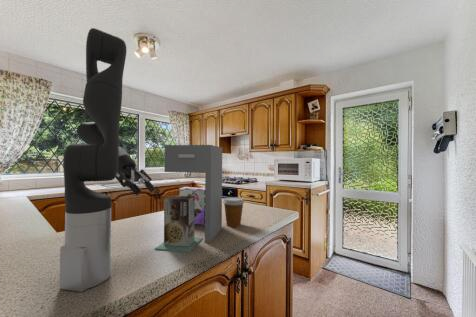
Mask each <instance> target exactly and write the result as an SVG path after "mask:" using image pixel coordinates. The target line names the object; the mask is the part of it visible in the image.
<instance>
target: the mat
mask: <svg viewBox="0 0 476 317" xmlns="http://www.w3.org/2000/svg"><path fill="white" fill-rule="evenodd" d="M202 240H203V237H195V236H194V241H193V243H192V244H191V245H190V246H189V247H188V246H164V241H163V242H161V243H160V244H159V245H158V246H156V247H155V248H154V250H156V251H165V252H176V253H178V252H179V253H191V252H192V250H193V249H195V247H196V246H197V245H198V244H199V243H200V242H201V241H202Z"/></svg>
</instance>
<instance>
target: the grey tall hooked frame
mask: <svg viewBox="0 0 476 317" xmlns="http://www.w3.org/2000/svg"><path fill="white" fill-rule="evenodd" d="M164 173H198V174H199V173H205V179H204V180H205V181H204V182H205V183H204V184H205V187H204V188H205V225H204V243H207V244H208V243H209V244H211V242H212V241H213V240H214V239H215V238H216V236H217V235H218V234H219V232H220V231H222V229H223V227H222V226H223V225H222V224H223V221H222V220H223V219H222V218H223V215H222V214H223V209H222V208H223V147H221V146H216V145H213V144H165V145H164Z"/></svg>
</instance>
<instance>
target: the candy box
mask: <svg viewBox="0 0 476 317" xmlns="http://www.w3.org/2000/svg"><path fill="white" fill-rule="evenodd" d="M178 196H195V197H194V225H195V226H196V225H197V226H205V187H196V186H195V187H194V186H193V187H192V186H183V187H180V188H178Z"/></svg>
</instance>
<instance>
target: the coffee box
mask: <svg viewBox="0 0 476 317" xmlns="http://www.w3.org/2000/svg"><path fill="white" fill-rule="evenodd" d="M194 197H195V196H179V195H170V196H167V197H165V198H163V242H164V246H188V247H189V246H190V245H191V244H192V243H193V241H194V237H195V224H194Z"/></svg>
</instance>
